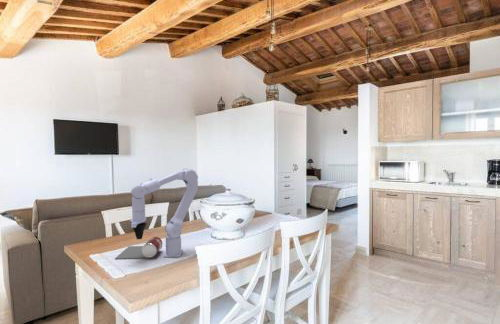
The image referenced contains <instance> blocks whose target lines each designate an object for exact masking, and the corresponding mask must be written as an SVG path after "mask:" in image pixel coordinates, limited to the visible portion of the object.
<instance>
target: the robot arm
mask: <svg viewBox="0 0 500 324" xmlns="http://www.w3.org/2000/svg"><path fill="white" fill-rule="evenodd" d="M198 179H199V176H198V173H197V171H196V170H194V169H189V168H183V169H179V170H176V171H174V172H171V173H170V174H166V176H163V177H161V178H159V179H158V178H156V177H155V178H152V177H151V178H149V180H147V181H145V182H140V183H139V184H136V185H135V186H132V187H131V189H130V190H131V191H130V193H131V195H132V197H131V204H132V205H131V207H132V208H131V210H132V211H131V212H132V214H131V215H132V217H131V219H130V220H129V223H130V222H131V223H130V224H131V225H130V226H131V229H132V230H133V232H134V234H135V237H136V240H142V239H143V236H144V232H145V228H146V225H147V222H146V221H147V216H146V201H145V196H146V195H149V194H151V193H153V192H156V191H157V190H160V189H161V187H162V186H164V185H166V184H168V183H171V182H174V181H176V180H178V181H183V182H184V185H185V187H186V190H185V192H184V194H183V195H182V199H181V200H180V203H179V204H178V207H177V209H176V211H175V212H174V215H173V217H171V219H169V221H168V223H166V225H165V226H164V231H165V233H166V235H165V253H164V255H163V258H179V257H181V256H182V254H183V252H184V249H182V237H181V234H182V229H183V225H184V220H185V217H186V215H187V213H188V211H189V209H190V207H191V204H192V203H193V201H194V199H195V197H196V194H197V192H198V190H199V185H198V184H199V181H198Z"/></svg>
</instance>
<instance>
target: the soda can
mask: <svg viewBox="0 0 500 324" xmlns="http://www.w3.org/2000/svg"><path fill="white" fill-rule="evenodd" d="M142 246H143V247H142V254H143V256H145V257H146V258H152V257H153V258H154V257H155V256H156V255H157V254H156V253H159V251H161V249H160V248H163V240H162V239H161V238H160V237H158V236H152V237H151V238H150V239H149V240H147V242H145V244H143V245H142Z"/></svg>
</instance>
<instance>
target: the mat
mask: <svg viewBox="0 0 500 324" xmlns="http://www.w3.org/2000/svg"><path fill="white" fill-rule="evenodd" d="M143 246H144V245H134V246H133V245H131V246H130V245H129V246H127V247H126V248H125V249H124V250H122V251H121V252H120V253H119V254H118V255H117V256H116V257H115V258H114V260H143V259H144V260H146V259H147V260H151V259H153V258H154V257H152V258H146V257H145V256H143V254H142V247H143ZM161 248H162V247H161ZM161 248H160V250H161ZM157 253H158V252H157ZM157 253H156V255H157Z"/></svg>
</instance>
